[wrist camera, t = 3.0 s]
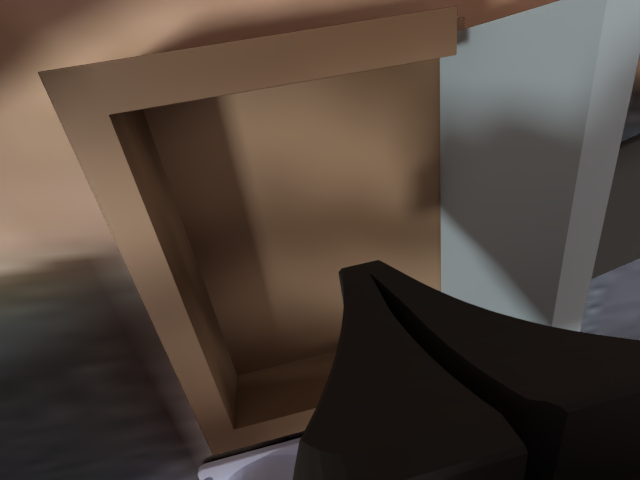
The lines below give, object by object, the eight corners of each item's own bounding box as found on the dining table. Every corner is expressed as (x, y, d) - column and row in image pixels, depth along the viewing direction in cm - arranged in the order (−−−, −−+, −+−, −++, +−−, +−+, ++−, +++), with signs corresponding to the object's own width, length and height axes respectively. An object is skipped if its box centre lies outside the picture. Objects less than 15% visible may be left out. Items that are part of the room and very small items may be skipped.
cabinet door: (441, 336, 18) (530, 453, 12) (439, 36, 12) (609, -15, 6) (458, 331, 18) (555, 446, 12) (465, 32, 12) (656, -22, 6)
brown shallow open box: (448, 326, 19) (492, 380, 16) (221, 383, 18) (213, 455, 15) (449, 22, 13) (523, -5, 10) (103, 78, 12) (37, 72, 8)
